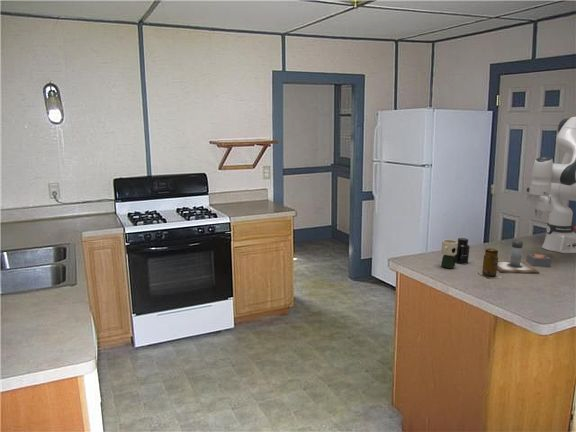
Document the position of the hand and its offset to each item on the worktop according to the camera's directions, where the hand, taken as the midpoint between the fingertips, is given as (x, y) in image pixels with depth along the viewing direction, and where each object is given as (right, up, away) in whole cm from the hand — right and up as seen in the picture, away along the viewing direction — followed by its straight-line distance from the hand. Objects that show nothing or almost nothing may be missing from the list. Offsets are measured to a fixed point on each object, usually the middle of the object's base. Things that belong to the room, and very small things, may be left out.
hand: (537, 218), depth 238 cm
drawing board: (-16, -24, -7) cm, 30 cm away
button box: (0, -23, 0) cm, 23 cm away
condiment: (-31, -26, -19) cm, 45 cm away
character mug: (-47, -24, -7) cm, 53 cm away
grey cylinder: (-15, -23, -8) cm, 28 cm away
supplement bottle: (-38, -22, +1) cm, 44 cm away
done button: (0, -21, -1) cm, 21 cm away
